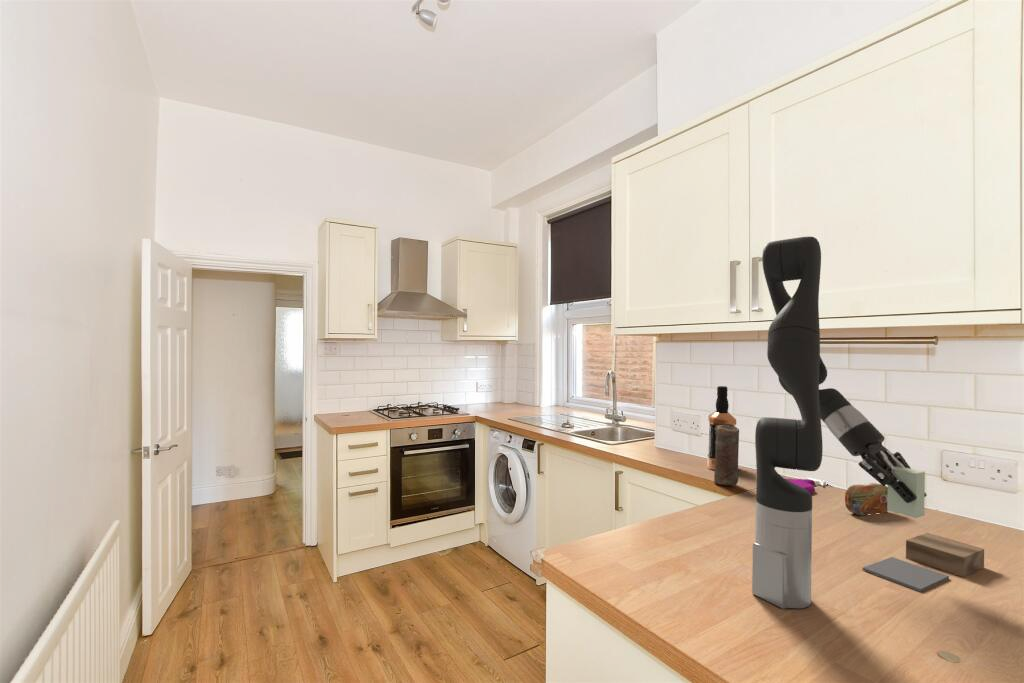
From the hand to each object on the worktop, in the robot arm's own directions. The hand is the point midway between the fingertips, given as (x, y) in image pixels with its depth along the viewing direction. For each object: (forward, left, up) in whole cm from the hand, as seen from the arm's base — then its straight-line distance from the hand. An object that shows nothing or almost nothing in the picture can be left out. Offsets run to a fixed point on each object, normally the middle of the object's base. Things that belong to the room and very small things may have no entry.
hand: (917, 499), depth 98 cm
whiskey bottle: (+42, +80, -16) cm, 92 cm away
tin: (+36, +26, -16) cm, 47 cm away
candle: (+23, +63, -16) cm, 69 cm away
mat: (0, +2, -16) cm, 16 cm away
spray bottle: (+43, +49, -17) cm, 68 cm away
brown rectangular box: (+15, +1, -16) cm, 22 cm away
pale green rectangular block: (0, +2, -3) cm, 4 cm away
